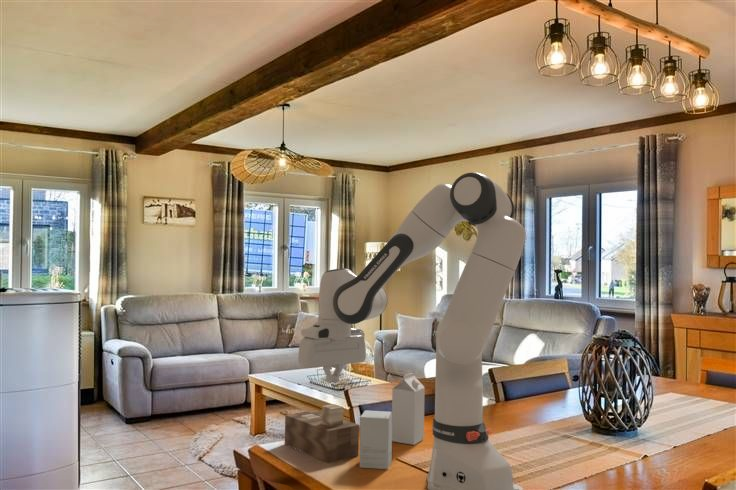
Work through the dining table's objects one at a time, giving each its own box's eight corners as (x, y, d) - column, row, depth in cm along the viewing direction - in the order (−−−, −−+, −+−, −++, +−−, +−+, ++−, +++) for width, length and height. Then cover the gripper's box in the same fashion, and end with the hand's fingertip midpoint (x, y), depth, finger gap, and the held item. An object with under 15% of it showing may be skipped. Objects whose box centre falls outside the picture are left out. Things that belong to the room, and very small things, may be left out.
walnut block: (358, 455, 161) (359, 424, 161) (327, 462, 155) (328, 430, 155) (314, 438, 176) (314, 409, 176) (284, 444, 170) (285, 415, 170)
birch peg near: (342, 433, 162) (343, 406, 162) (330, 436, 159) (331, 409, 159) (333, 430, 165) (334, 404, 165) (321, 432, 162) (322, 406, 162)
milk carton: (391, 441, 174) (392, 374, 175) (401, 435, 180) (402, 370, 181) (414, 445, 171) (415, 377, 171) (424, 439, 177) (425, 373, 178)
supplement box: (392, 460, 157) (393, 411, 158) (387, 470, 150) (388, 418, 150) (363, 458, 159) (364, 409, 159) (358, 467, 151) (359, 416, 152)
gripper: (357, 326, 172) (355, 376, 171) (296, 329, 158) (294, 383, 158) (371, 328, 167) (370, 379, 167) (310, 332, 154) (308, 388, 153)
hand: (332, 381), depth 162 cm, fingers closed
